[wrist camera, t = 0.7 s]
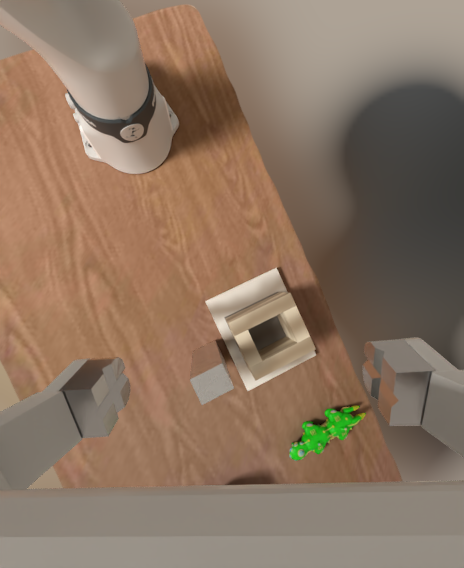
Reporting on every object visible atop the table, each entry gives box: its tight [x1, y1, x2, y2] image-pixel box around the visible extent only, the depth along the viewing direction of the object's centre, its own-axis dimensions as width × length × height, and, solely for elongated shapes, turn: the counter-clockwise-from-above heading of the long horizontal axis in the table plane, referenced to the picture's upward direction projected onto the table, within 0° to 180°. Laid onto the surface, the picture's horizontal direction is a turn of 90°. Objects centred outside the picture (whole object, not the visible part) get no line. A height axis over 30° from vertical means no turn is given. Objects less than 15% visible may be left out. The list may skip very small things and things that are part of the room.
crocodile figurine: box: [289, 406, 366, 461], centre depth 53 cm, size 7×18×4 cm, turn 115°
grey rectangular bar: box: [190, 340, 234, 405], centre depth 44 cm, size 4×5×16 cm
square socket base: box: [205, 268, 316, 391], centre depth 49 cm, size 20×16×9 cm
